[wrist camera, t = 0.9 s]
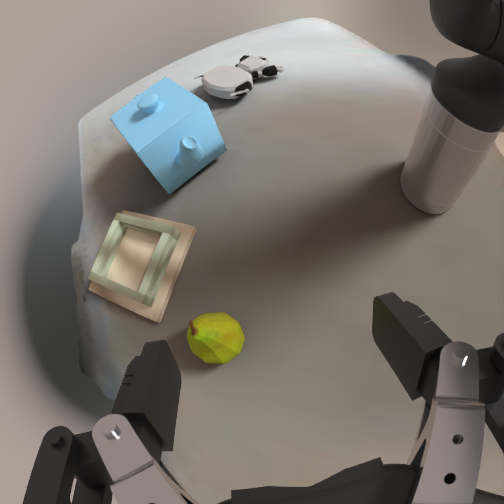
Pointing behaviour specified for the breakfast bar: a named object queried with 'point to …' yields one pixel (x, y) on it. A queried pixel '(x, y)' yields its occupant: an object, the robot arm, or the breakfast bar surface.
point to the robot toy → (237, 77)
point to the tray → (141, 262)
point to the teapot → (170, 132)
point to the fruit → (215, 337)
